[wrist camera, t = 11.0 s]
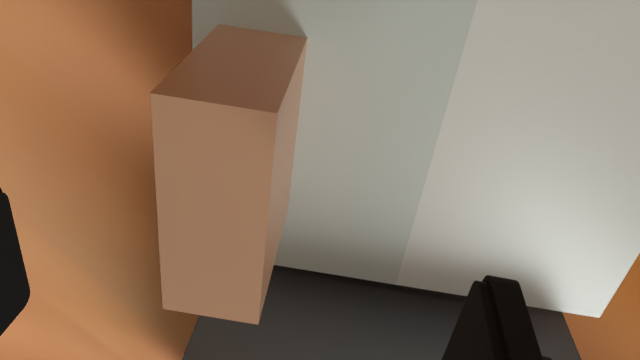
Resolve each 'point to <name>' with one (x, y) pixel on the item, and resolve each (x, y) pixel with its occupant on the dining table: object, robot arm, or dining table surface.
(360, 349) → the tub
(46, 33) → the dining table surface
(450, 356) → the robot arm
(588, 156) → the lid
